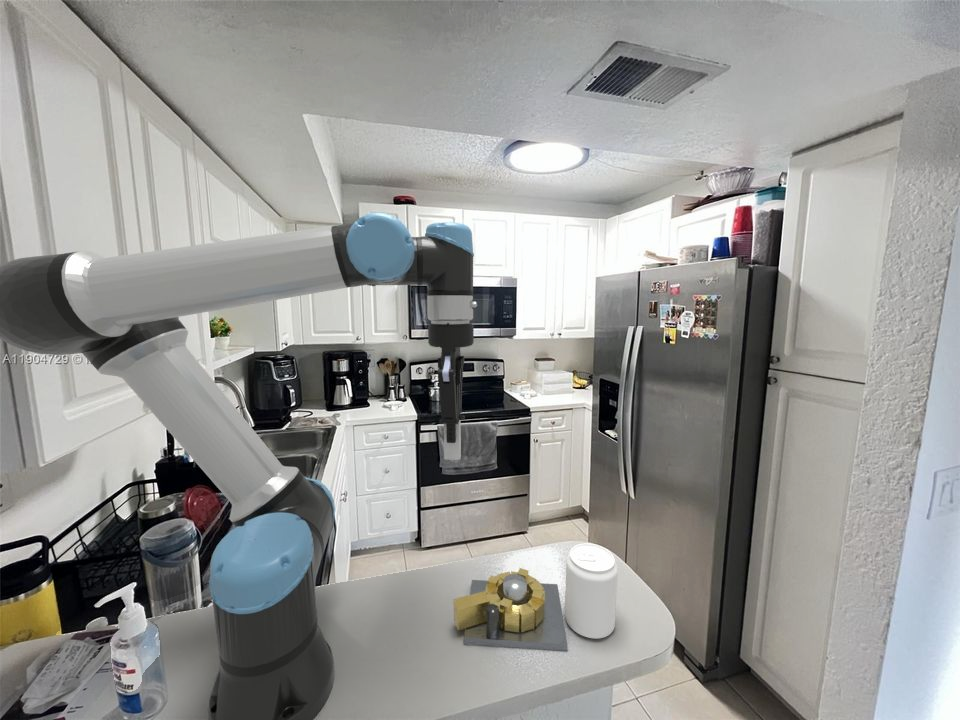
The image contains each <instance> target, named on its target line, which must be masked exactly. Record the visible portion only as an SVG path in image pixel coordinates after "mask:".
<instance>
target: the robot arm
mask: <svg viewBox="0 0 960 720" xmlns="http://www.w3.org/2000/svg"><path fill="white" fill-rule="evenodd" d="M474 257H475V253H474V245H473V232H472V229H471V228H470V227H469V226H468V225H466V224H464V223H460V222H454V221H453V222H452V221H450V222H448V221H444V222H435V223H434V222H433V223H430V224H429V225H427V226H426V229H425V233H424V235H423V236H411V233H410V231H409V229H408V228H407V227H406V225H405V224H404V223H403V222H402V221H401V220H400V219H398V217H395V216H394V215H390V214H389V213H385V212H380V211H379V212H378V211H377V212H376V211H375V212H369V213H366V214H364V215H362V216H361V217H359V218H357V220H355V222H348V223H342V224H337V225H328V226H321V227H315V228H307V229H300V230H295V231H294V230H293V231H286V232H279V233H270V234H266V235H265V234H264V235H260V236H259V235H258V236H252V237H245V238H244V237H243V238H237V239H231V240H223V241H222V240H221V241H217V242H208V243H202V244H195V245H187V246H181V247H175V248H174V247H173V248H167V249H158V250H152V251H145V252H140V253H139V252H137V253H133V254H132V253H131V254H124V255H118V256H110V257H104V256H102V255H100V254H98V253H95V252H93V251H86V250H81V251H72V252H66V253H59V254H48V255H39V256H36V255H35V256H26V257H20V258H16V259H13V260H9V261H7V262H5V263H3V264H0V340H1V341H3V342H5V343H6V344H8V345H11V347H14V348H17V349H19V350H22V351H26V352H30V353H35V354H40V355H46V356H47V355H49V356H63V355H75V354H76V355H77V354H82V355H83V356H84V357H85V358H86V360H87V361H89V363H90V364H91V365H92V366H93V367H94V368H95V369H96V371H97V372H98V373H99V374H100V375H107V376H113V377H118V378H121V379H122V380H123V381H124V382H125V383H126V384H127V385H128V387H130V389H131V390H132V392H133V393H135V395H136V396H137V397H138V398H139V399H140V400H141V401H142V402H143V404H144V405H146V407H147V408H148V410H149V411H150V412H151V413H152V414H153V415H154V417H156V418H157V420H158V421H159V422H160V424H161V425H163V427H164V428H165V429H166V430H167V431H168V433H169V434H171V436H172V438H174V439H175V440H176V442H177V443H178V444H179V445H180V446H181V447H182V448H183V449H184V450H185V452H186V453H187V454H188V455H189V456H190V458H191V459H192V460H193V461H194V462H195V463H196V465H198V467H199V468H200V469H201V470H202V471H203V473H205V475H206V476H207V477H208V478H209V479H210V480H211V482H212V483H213V484H214V485H215V486H216V488H218V490H219V491H221V494H223V496H224V497H225V498H226V499H227V500H228V501H229V502H230V504H231V509H230V514H229V520H230V521H231V523H232V524H233V525H234V526H235V527H234V528H233V529H231V530H230V531H229V532H228V533H227V534H225V536H224V537H223V538H221V540H220V541H219V543H218V544H217V545H216V547H215V549H214V551H213V553H212V554H211V559H210V562H209V563H210V565H209V569H210V572H209V575H210V576H209V580H208V585H209V591H210V596H211V599H212V600H211V601H212V607H213V615H214V623H215V624H214V625H215V631H216V639H217V641H216V642H217V648H218V654H219V665H218V669H217V673H216V675H215V680H214V683H213V687H212V691H211V693H210V698H209V703H208V710H207V711H208V720H313V719H314V718H315V717H316V716H317V714H318V713H319V712H320V711H321V709H322V708H323V706H324V705H325V703H326V702H327V700H328V698H329V696H330V694H331V692H332V689H333V685H334V680H335V665H334V655H333V651H332V649H331V646H330V645H329V643H328V641H327V640H326V639H325V637H324V635H323V632H322V631H321V628H320V626H319V624H318V610H317V597H316V596H317V595H316V583H317V582H316V581H317V580H316V579H317V575H318V572H319V569H320V565H321V562H322V560H323V559H322V558H323V556H324V553H325V549H326V546H327V544H328V540H329V537H330V535H331V534H332V531H333V528H334V524H335V516H336V515H335V514H336V513H335V512H336V508H335V507H336V506H335V505H336V504H335V500H334V497H333V495H332V493H331V491H330V490H329V488H328V487H327V486H326V485H325V484H324V483H322V482H321V481H319V480H317V479H316V478H309V477H307V476H305V475H304V474H303V472H302V471H300V469H299V468H298V467H296V466H286V465H283V464H282V463H281V462H280V460H278V458H277V457H276V456H275V455H274V453H273V452H272V450H270V448H269V447H268V446H267V445H266V443H265V442H264V441H263V439H261V437H260V436H259V435H258V434H257V432H256V431H255V430H254V429H253V427H252V426H251V425H250V424H249V423H248V421H247V420H246V419H245V417H244V416H243V415H242V414H241V413H240V412H239V410H238V409H237V408H236V406H235V405H234V404H233V403H232V402H231V400H230V399H229V398H228V397H227V396H226V394H225V393H224V391H222V389H221V388H220V386H218V385H217V384H218V383H216V382H215V380H214V379H213V378H212V377H211V375H210V374H209V373H208V372H207V371H206V370H205V368H204V367H203V366H202V365H201V364H200V362H199V361H198V360H197V358H196V357H195V356H194V354H193V353H191V351H190V350H189V349H188V347H187V345H186V343H187V339H188V335H189V330H188V329H187V328H186V327H185V325H184V324H183V323H182V321H181V320H180V319H179V317H185V316H191V315H196V314H197V315H198V314H202V313H203V314H204V313H208V312H213V311H214V312H215V311H220V310H224V309H225V310H226V309H231V308H237V307H242V306H249V305H255V304H260V303H266V302H272V301H277V300H282V299H288V298H289V299H290V298H295V297H300V296H306V295H312V294H317V293H323V292H328V291H335V290H340V289H345V288H354V287H362V286H367V287H368V286H370V287H376V286H426V287H427V292H426V293H427V295H426V297H427V300H426V302H427V303H426V304H427V311H426V312H427V319H428V320H429V321H431V322H430V323H429V325H427V333H428V334H427V336H428V337H427V338H428V340H427V341H428V345H429V346H430V347H433V348H441V351H440V357H438V358H437V368H438V369H437V371H436V374H437V379H438V387H439V403H440V417H441V418H440V419H439V421H438V423H439V425H443V457H444V458H443V459H444V460H450V461H451V460H453V461H454V460H455V461H460V460H461V459H462V458H461V457H462V455H461V454H462V443H461V442H462V438H461V437H462V436H461V435H462V433H461V432H462V431H461V426H462V425H461V420H464V421H465V417H466V415H465V414H462V411H463V408H462V405H463V404H462V403H463V401H462V400H463V398H462V395H463V379H464V365H465V356H464V355H461V353H462V352H461V348H466V347H467V348H469V347H470V346H473V345H474V342H475V341H474V337H475V336H474V332H475V331H474V327H475V326H474V325H473V323H471V322H470V321H472V320H473V319H474V309H473V308H476V307H478V303H477V301H473V300H474V296H473V295H474Z"/></svg>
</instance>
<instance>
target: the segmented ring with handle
mask: <svg viewBox="0 0 960 720" xmlns="http://www.w3.org/2000/svg"><path fill="white" fill-rule="evenodd" d="M511 574H517V575H521V576H523V577H524V578H525V579H526V581H527V599H528V600H529V602H528V603H526V604H522V605H519V606H516V605H513V601H512V600H509V599H506V598H503V580H504V578H505V577H506V576H508V575H511ZM486 581H487V586H486V590H485V591H483V592H479V593H476V594H472V595H470V594H469V595H465V596H462V597H457V598H454V599H453V621H454V622H455V623H454V624H455V626H456V629H457V630H458V631H459V630H463V629H464V630H465V628H467V627H471V626H474V625H477V624H481V623H484V622H486V608H487V606H488V605H490V604H495V605H497V606H498V607H499V628H501V629H502V630H503V629H504V627H505V631H512V632H519V629H520V631H521V632H524V631H527V630H531V629H534V626H535V627H537V626H538V624H539V623H540V622H541V621H542V620H543V619H544V603H545V591H544V588H543V587H542V585H541V584H540V583H541V582H540V581H539V580H537V578H535V577H533V576H532V575H530V574H529V570H527V569H524V568H522V567H521V568H519V569H518V571H512V570H511V572H510V571H506V572H502V573H498V574H497V575H490V576H489V578H488V579H487V580H486ZM502 598H503V600H500V599H502Z"/></svg>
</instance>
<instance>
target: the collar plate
mask: <svg viewBox="0 0 960 720" xmlns="http://www.w3.org/2000/svg"><path fill="white" fill-rule="evenodd" d="M510 574H511V573H510ZM487 581H488V580H481V579H471V584H470V590H469V595H472V594H476V593H479V592H483V591H485V590H486V586H487ZM539 583H540V584H541V585H542V587H543V588H544V591H545V603H544V619H543V620H542V621H541V622H540V623H539V624H538V626H537V627H535V626H534V629H531V630H527V631H524V632H521V631H520V629H519V632H512V631H505V627H504V629H503V630H502V629H501V628H499V607H498V606H497V605H495V604H490V605H488V606H487V608H486V622H484V623H481V624H477V625H474V626H471V627H467V628H464V636H463V645H465V646H466V645H467V646H483V647H496V648H510V649H511V648H512V649H529V650H546V651H559V652H561V651H562V652H567V651H568V639H567V633H566V632H567V631H566V627H565V621H564V615H563V614H564V613H563V609H562V604H561V597H560V593H559V586H558V583H544V582H543V583H542V582H539ZM503 598H506V599H509V600H512V601H513V605H516V606H519V605H522V604H526V603H528V602H529V600H528V599H527V581H526V579H525V578H524V577H523V576H521V575H517V574H511V575H508V576H506V577H505V578H504V580H503ZM503 598H502V599H500V600H503Z"/></svg>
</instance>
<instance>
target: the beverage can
mask: <svg viewBox="0 0 960 720" xmlns="http://www.w3.org/2000/svg"><path fill="white" fill-rule="evenodd" d="M565 565H566V566H565V593H564V594H565V595H564V596H565V597H564V598H565V599H564V618H565V620H566V622H567V624H568V627H570V628H571V629H572V630H573V631H574V632H576V634H579V635H580V636H582V637H586V638H589V639H597V640H598V639H602V638H606V637H608V636H610V635H611V634H612V633H613V632H614V629H615V627H616V609H617V608H616V607H617V593H618V592H617V591H618V590H617V588H618V575H619V574H618V571H619V569H618V565H617V563H616V560H615V556H614V554H612V552H611V551H610V550H609V549H607V548H606V547H603V546H601V545H599V544H594V543H589V542H588V543H587V542H585V543H578V544H576V545H574V546H573V547H572V548H571V549H570V550H569V553H568V555H567V557H566V564H565Z"/></svg>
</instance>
